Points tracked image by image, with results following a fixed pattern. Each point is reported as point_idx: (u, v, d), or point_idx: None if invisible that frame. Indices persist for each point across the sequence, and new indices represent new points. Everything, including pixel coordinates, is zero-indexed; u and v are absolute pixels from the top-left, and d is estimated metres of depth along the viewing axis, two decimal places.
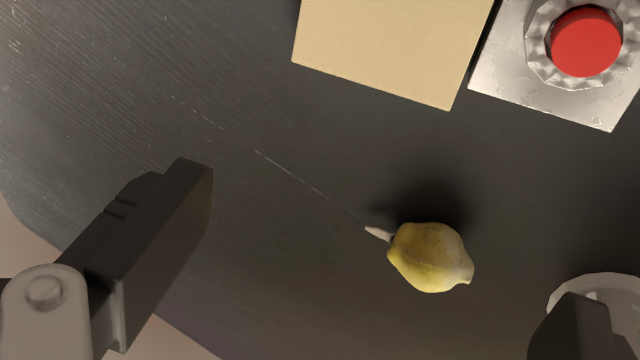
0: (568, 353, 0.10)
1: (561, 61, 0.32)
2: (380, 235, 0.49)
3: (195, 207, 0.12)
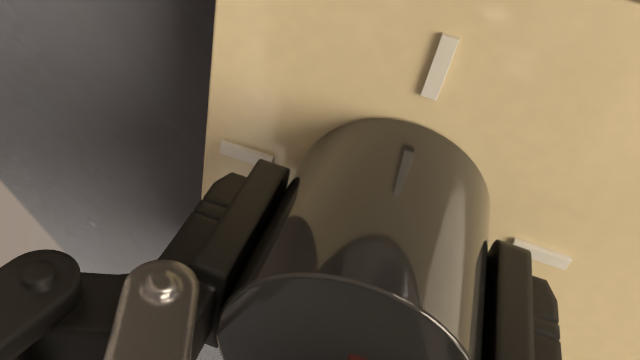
0: (489, 293, 0.11)
1: None
2: None
3: (274, 207, 0.12)
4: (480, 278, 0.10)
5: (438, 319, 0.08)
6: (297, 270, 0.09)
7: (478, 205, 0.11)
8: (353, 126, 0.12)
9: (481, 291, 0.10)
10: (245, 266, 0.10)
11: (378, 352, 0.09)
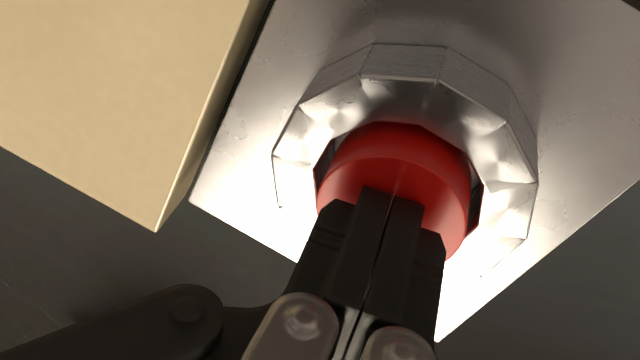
0: (380, 243, 0.12)
1: None
2: None
3: None
4: None
5: None
6: None
7: None
8: None
9: None
10: None
11: None
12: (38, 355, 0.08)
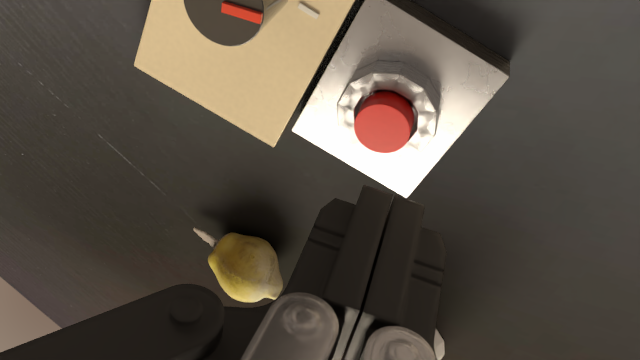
0: (380, 243, 0.12)
1: (361, 134, 0.35)
2: (206, 239, 0.51)
3: None
4: None
5: None
6: None
7: None
8: None
9: None
10: None
11: None
12: (38, 355, 0.08)
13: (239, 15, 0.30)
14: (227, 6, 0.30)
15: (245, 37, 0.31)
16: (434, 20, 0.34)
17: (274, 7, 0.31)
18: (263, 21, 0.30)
